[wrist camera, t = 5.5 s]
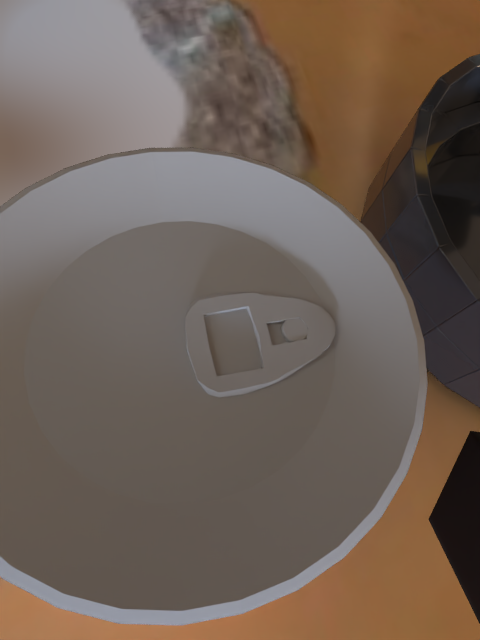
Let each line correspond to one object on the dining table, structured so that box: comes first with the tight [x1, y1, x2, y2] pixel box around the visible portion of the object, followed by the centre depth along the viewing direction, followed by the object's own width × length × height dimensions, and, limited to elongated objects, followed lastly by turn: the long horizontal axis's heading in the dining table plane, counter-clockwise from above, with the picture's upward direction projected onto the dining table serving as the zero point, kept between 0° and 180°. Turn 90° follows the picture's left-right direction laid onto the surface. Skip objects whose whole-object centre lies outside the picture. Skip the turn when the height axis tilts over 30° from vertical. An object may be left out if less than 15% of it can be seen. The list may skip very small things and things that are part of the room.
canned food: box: [0, 148, 428, 625], centre depth 12 cm, size 8×8×11 cm
